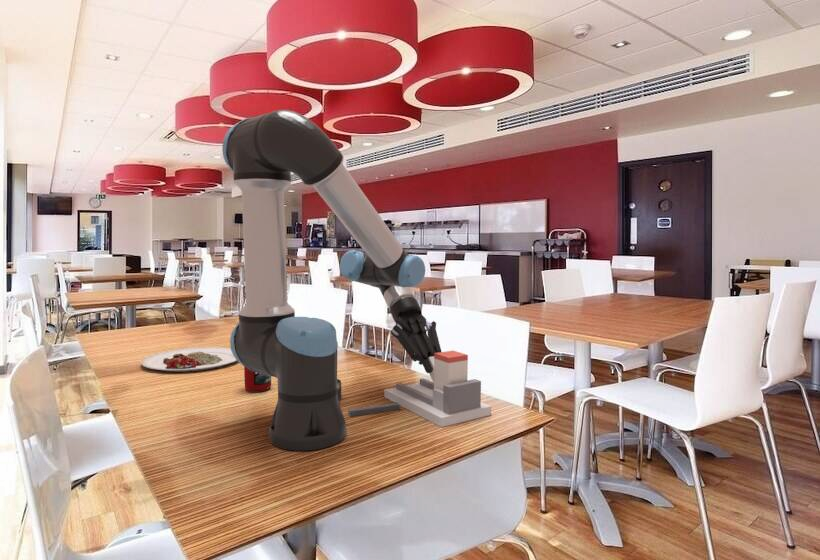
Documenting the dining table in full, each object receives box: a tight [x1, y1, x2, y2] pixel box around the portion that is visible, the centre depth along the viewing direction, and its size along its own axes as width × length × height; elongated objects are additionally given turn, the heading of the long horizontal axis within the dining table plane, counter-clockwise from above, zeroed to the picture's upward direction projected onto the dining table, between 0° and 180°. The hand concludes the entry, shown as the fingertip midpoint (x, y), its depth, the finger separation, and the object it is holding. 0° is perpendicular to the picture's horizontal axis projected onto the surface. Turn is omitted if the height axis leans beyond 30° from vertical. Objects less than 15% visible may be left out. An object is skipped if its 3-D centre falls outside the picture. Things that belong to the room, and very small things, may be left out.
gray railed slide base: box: [384, 378, 492, 428], centre depth 120 cm, size 24×14×8 cm, turn 33°
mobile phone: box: [337, 378, 342, 402], centre depth 120 cm, size 5×3×15 cm
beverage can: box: [243, 366, 272, 393], centre depth 132 cm, size 7×7×12 cm
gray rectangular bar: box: [347, 402, 401, 418], centre depth 116 cm, size 12×2×2 cm, turn 114°
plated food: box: [141, 346, 238, 373], centre depth 162 cm, size 30×30×3 cm
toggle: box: [434, 350, 469, 391], centre depth 115 cm, size 5×5×11 cm
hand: (440, 382), depth 118 cm, fingers closed
